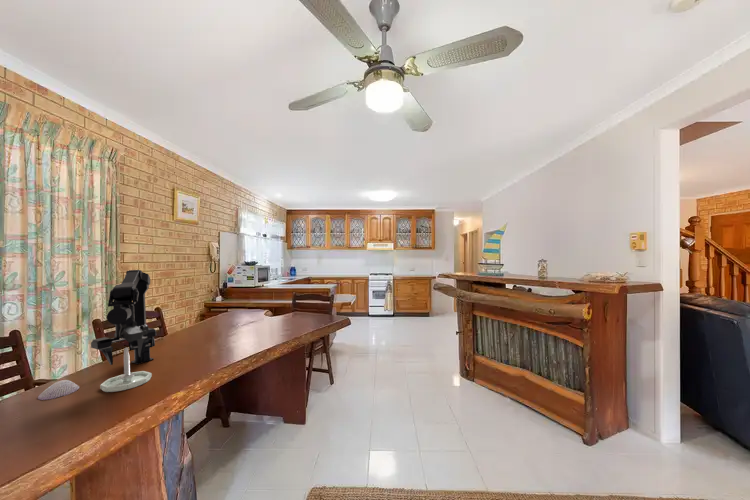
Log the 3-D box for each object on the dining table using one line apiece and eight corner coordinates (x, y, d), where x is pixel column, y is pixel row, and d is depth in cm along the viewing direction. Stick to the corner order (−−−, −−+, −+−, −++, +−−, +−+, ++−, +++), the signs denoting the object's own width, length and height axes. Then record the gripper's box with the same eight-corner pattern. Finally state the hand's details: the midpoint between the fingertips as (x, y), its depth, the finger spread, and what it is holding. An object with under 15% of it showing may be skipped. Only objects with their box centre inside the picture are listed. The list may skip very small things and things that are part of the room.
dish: (94, 387, 112) (93, 383, 112) (138, 373, 125) (138, 369, 125) (113, 394, 106) (113, 390, 106) (158, 378, 119) (158, 374, 119)
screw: (136, 377, 119) (134, 382, 115) (120, 381, 116) (117, 385, 112) (135, 344, 119) (133, 347, 115) (119, 346, 116) (116, 350, 112)
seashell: (84, 376, 117) (74, 379, 108) (83, 391, 116) (72, 396, 107) (47, 382, 112) (33, 385, 103) (45, 398, 111) (31, 403, 102)
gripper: (104, 326, 104) (105, 372, 104) (163, 315, 120) (164, 355, 120) (89, 324, 109) (90, 368, 109) (148, 314, 125) (149, 352, 125)
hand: (126, 360), depth 116 cm, fingers open, 9 cm apart
